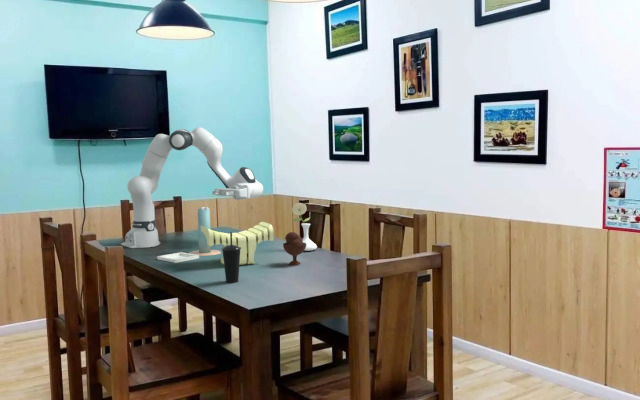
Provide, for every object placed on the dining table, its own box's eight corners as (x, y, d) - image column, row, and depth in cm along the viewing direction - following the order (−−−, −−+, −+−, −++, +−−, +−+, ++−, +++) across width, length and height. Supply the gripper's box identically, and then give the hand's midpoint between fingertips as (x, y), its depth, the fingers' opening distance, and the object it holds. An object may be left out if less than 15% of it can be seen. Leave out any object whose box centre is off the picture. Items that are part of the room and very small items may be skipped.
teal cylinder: (196, 252, 293) (195, 207, 291) (205, 250, 297) (204, 206, 295) (204, 253, 289) (202, 207, 287) (213, 252, 293) (212, 206, 291)
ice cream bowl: (304, 266, 259) (303, 233, 257) (279, 266, 261) (279, 233, 260) (309, 262, 269) (308, 230, 268) (286, 261, 271) (285, 229, 270)
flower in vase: (318, 248, 306) (317, 201, 304) (315, 252, 295) (315, 203, 292) (293, 248, 307) (293, 201, 305) (290, 252, 296) (289, 203, 294)
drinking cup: (223, 279, 235) (222, 231, 233) (242, 279, 236) (241, 230, 234) (221, 284, 228) (220, 233, 226) (241, 283, 228) (240, 233, 226)
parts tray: (157, 260, 277) (157, 256, 277) (181, 256, 288) (181, 252, 288) (175, 264, 268) (175, 259, 268) (199, 259, 279) (199, 255, 279)
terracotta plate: (182, 254, 292) (182, 252, 292) (207, 250, 304) (207, 248, 304) (202, 258, 282) (202, 256, 282) (227, 253, 294) (227, 251, 294)
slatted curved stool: (210, 269, 255) (209, 229, 254) (201, 263, 270) (200, 225, 268) (274, 263, 268) (273, 225, 266) (262, 257, 282) (262, 221, 281)
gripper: (225, 185, 318) (206, 186, 307) (251, 186, 305) (232, 187, 294) (226, 196, 318) (206, 198, 308) (252, 198, 306) (232, 200, 295)
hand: (219, 193), depth 301 cm, fingers open, 8 cm apart
